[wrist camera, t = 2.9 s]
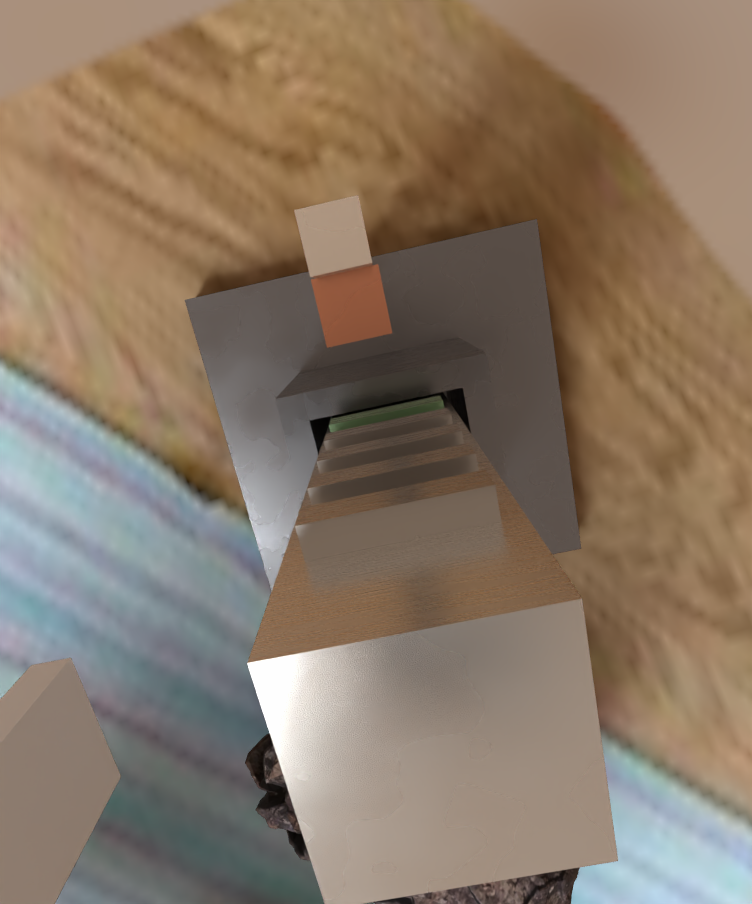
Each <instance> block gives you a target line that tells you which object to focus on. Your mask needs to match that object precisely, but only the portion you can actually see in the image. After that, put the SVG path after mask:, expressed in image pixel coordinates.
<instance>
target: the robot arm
mask: <svg viewBox="0 0 752 904" xmlns="http://www.w3.org/2000/svg"><path fill="white" fill-rule="evenodd" d="M120 778H121V775H120V773H119V770H118V768H117V766H116V763H115V761H114V759H113V756H112V754H111V752H110V749H109V747H108V744H107V742H106V740H105V737H104V735H103V733H102V730H101V728H100V726H99V723H98V721H97V718H96V716H95V714H94V711H93V709H92V707H91V704H90V702H89V700H88V697H87V695H86V692H85V690H84V688H83V685H82V683H81V681H80V678H79V676H78V674H77V671H76V669H75V666H74V664H73V662H72V659H71V658H67V659H62V660H57V661H51V662H46V663H41V664H36V665H31V666H30V667H29V669H28V670H27V671H26V672H25V673H24V674H23V675H22V676H21V677H20V678H19V680H18V681H17V682H16V683H15V684H14V685H13V686H12V687H11V688H10V689H9V691H8V692H7V693H6V694H5V695H4V696H3V697H2V698H1V699H0V904H55V902H56V900H57V898H58V896H59V894H60V892H61V891H62V889H63V887H64V885H65V883H66V881H67V879H68V877H69V875H70V873H71V871H72V869H73V868H74V866H75V864H76V862H77V860H78V858H79V856H80V854H81V852H82V850H83V848H84V846H85V845H86V843H87V841H88V839H89V837H90V835H91V833H92V831H93V829H94V827H95V825H96V824H97V822H98V820H99V818H100V816H101V814H102V812H103V810H104V808H105V806H106V804H107V802H108V801H109V799H110V797H111V795H112V793H113V791H114V789H115V787H116V785H117V783H118V781H119V780H120Z"/></svg>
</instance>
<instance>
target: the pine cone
mask: <svg viewBox="0 0 752 904" xmlns="http://www.w3.org/2000/svg"><path fill="white" fill-rule="evenodd" d="M245 763H246V765H247V767H248V769H249V770H250V772H251V776H252V778H253V779H254V781H255V783H256V784H257V786H258V788H260V789H262V790H264V791H267V793H266V794H265V796H264V797H263V798H262V799H261V800H260V802H259V804H258V806H257V808H256V811H257V812H258V814H259V815H261V816H262V817H263V818H265V819H266V822H267V824H268V826H269V827H270V828H273V829H278V828H281V829H286V830H287V833H288V838H289V843H290V844H291V845H292V847H293V848H294V850H295V852H296V854H297V855H298V856H299V858H300V859H303V860H309V861H311V860H310V857H309V854H308V851H307V847H306V844H305V841H304V838H303V835H302V832H301V829H300V826H299V823H298V819H297V816H296V813H295V810H294V807H293V804H292V801H291V798H290V795H289V792H288V788H287V785H286V782H285V779H284V776H283V773H282V770H281V767H280V764H279V760H278V757H277V754H276V751H275V748H274V745H273V742H272V739H271V736H270V733H268V734H267V735H266V736H264V737H263V738H262V739H261V740H260V741H259V742H258V744H257V745H256V746H255V747H254V748H253V749H252V750H251V751H250V752H249V753H248V755H247V758H246V762H245ZM579 868H580V867H579ZM579 868H573V869H567V870H561V871H555V872H549V873H543V874H537V875H531V876H525V877H519V878H513V879H507V880H501V881H495V882H489V883H483V884H477V885H471V886H465V887H459V888H453V889H447V890H441V891H435V892H429V893H423V894H417V895H411V896H405V897H399V898H393V899H387V900H381V901H375V902H374V903H375V904H571V895H572V890H573V885H574V882H575V880H576V878H577V875H578V871H579Z"/></svg>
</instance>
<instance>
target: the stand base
mask: <svg viewBox="0 0 752 904" xmlns="http://www.w3.org/2000/svg"><path fill="white" fill-rule="evenodd" d="M294 211H295V215H296V220H297V224H298V228H299V232H300V236H301V241H302V245H303V249H304V253H305V257H306V262H307V266H308V270H309V272H305V273H300V274H296V275H292V276H287V277H283V278H279V279H274V280H270V281H265V282H261V283H257V284H252V285H248V286H244V287H239V288H235V289H231V290H226V291H222V292H218V293H213V294H209V295H205V296H200V297H196V298H192V299H187V300H185V302H186V306H187V309H188V313H189V316H190V319H191V323H192V326H193V329H194V333H195V336H196V339H197V343H198V346H199V350H200V353H201V356H202V360H203V363H204V366H205V370H206V373H207V376H208V380H209V383H210V387H211V390H212V393H213V397H214V400H215V403H216V407H217V410H218V413H219V417H220V420H221V424H222V427H223V430H224V434H225V437H226V440H227V444H228V447H229V450H230V454H231V457H232V461H233V464H234V467H235V471H236V474H237V477H238V481H239V484H240V487H241V491H242V494H243V498H244V501H245V504H246V508H247V511H248V514H249V518H250V521H251V524H252V528H253V531H254V535H255V538H256V541H257V545H258V548H259V551H260V555H261V558H262V561H263V565H264V568H265V572H266V575H267V578H268V582H269V585H270V588H271V592H272V589H273V586H274V584H275V581H276V578H277V575H278V572H279V569H280V566H281V563H282V560H283V557H284V554H285V551H286V548H287V545H288V543H289V540H290V537H291V534H292V531H293V528H294V525H295V522H296V519H297V516H298V513H299V510H300V507H301V504H302V501H303V499H304V496H305V493H306V490H307V487H308V484H309V481H310V478H311V475H312V472H313V469H314V466H315V463H316V460H317V457H318V455H319V452H320V449H321V446H322V443H323V440H324V437H325V434H326V431H327V428H328V425H329V422H330V419H331V416H333V415H338V414H342V413H347V412H351V411H356V410H361V409H365V408H370V407H375V406H379V405H384V404H389V403H393V402H398V401H402V400H407V399H412V398H416V397H421V396H426V395H430V394H435V393H440V392H443V393H444V394H445V396H446V397H447V399H448V400H449V402H450V403H451V405H452V406H453V408H454V409H455V411H456V412H457V414H458V415H459V417H460V418H461V420H462V421H463V423H464V424H465V426H466V427H467V429H468V430H469V431H470V433H471V434H472V436H473V437H474V439H475V440H476V442H477V443H478V445H479V446H480V448H481V449H482V451H483V452H484V454H485V455H486V457H487V458H488V460H489V461H490V463H491V464H492V466H493V467H494V469H495V470H496V472H497V473H498V475H499V476H500V478H501V479H502V481H503V482H504V483H505V485H506V486H507V488H508V489H509V491H510V492H511V494H512V495H513V497H514V498H515V500H516V501H517V503H518V504H519V506H520V507H521V509H522V510H523V512H524V513H525V515H526V516H527V518H528V519H529V521H530V522H531V524H532V525H533V527H534V528H535V530H536V531H537V532H538V534H539V535H540V537H541V538H542V540H543V541H544V543H545V544H546V546H547V547H548V549H549V550H550V552H551V553H552V554H556V553H561V552H566V551H571V550H576V549H581V544H580V536H579V529H578V521H577V514H576V506H575V499H574V492H573V484H572V477H571V469H570V462H569V454H568V447H567V439H566V432H565V424H564V417H563V409H562V402H561V395H560V387H559V380H558V372H557V365H556V357H555V350H554V342H553V335H552V327H551V320H550V312H549V305H548V298H547V290H546V283H545V275H544V268H543V260H542V253H541V245H540V238H539V230H538V223H537V219H535V220H531V221H526V222H522V223H518V224H513V225H509V226H504V227H500V228H496V229H491V230H487V231H483V232H478V233H474V234H470V235H465V236H461V237H457V238H452V239H448V240H444V241H439V242H435V243H431V244H426V245H422V246H418V247H413V248H409V249H405V250H400V251H396V252H391V253H387V254H383V255H378V256H374V257H371V254H370V249H369V245H368V240H367V235H366V230H365V226H364V221H363V216H362V211H361V206H360V202H359V197H358V195H356V196H352V197H348V198H344V199H339V200H335V201H331V202H327V203H323V204H318V205H314V206H310V207H306V208H301V209H297V210H294Z"/></svg>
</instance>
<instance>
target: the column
mask: <svg viewBox="0 0 752 904" xmlns="http://www.w3.org/2000/svg"><path fill="white" fill-rule="evenodd" d="M247 664H248V667H249V670H250V673H251V677H252V680H253V683H254V686H255V689H256V692H257V695H258V698H259V701H260V704H261V708H262V711H263V714H264V717H265V720H266V723H267V726H268V729H269V732H270V736H271V739H272V742H273V745H274V748H275V751H276V754H277V757H278V760H279V764H280V767H281V770H282V773H283V776H284V779H285V782H286V785H287V788H288V792H289V795H290V798H291V801H292V804H293V807H294V810H295V813H296V816H297V819H298V823H299V826H300V829H301V832H302V835H303V838H304V841H305V844H306V847H307V851H308V854H309V857H310V860H311V863H312V866H313V869H314V872H315V875H316V879H317V882H318V885H319V888H320V891H321V894H322V897H323V900H324V903H325V904H364V903H369V902H375V901H381V900H387V899H393V898H399V897H405V896H411V895H417V894H423V893H429V892H435V891H441V890H447V889H453V888H459V887H465V886H471V885H477V884H483V883H489V882H495V881H501V880H507V879H513V878H519V877H525V876H531V875H537V874H543V873H549V872H555V871H561V870H567V869H573V868H579V867H585V866H591V865H597V864H602V863H608V862H614V861H618V857H617V850H616V842H615V835H614V828H613V820H612V813H611V806H610V799H609V791H608V784H607V777H606V769H605V762H604V755H603V748H602V740H601V733H600V726H599V718H598V711H597V704H596V696H595V689H594V682H593V675H592V667H591V660H590V653H589V645H588V638H587V631H586V623H585V616H584V609H583V602H582V598H581V596H580V595H579V593H578V592H577V590H576V589H575V587H574V586H573V584H572V583H571V582H570V580H569V579H568V577H567V576H566V574H565V573H564V571H563V570H562V568H561V567H560V565H559V564H558V562H557V561H556V559H555V558H554V556H553V555H552V553H551V552H550V550H549V549H548V547H547V546H546V544H545V543H544V541H543V540H542V538H541V537H540V535H539V534H538V532H537V531H536V530H535V528H534V527H533V525H532V524H531V522H530V521H529V519H528V518H527V516H526V515H525V513H524V512H523V510H522V509H521V507H520V506H519V504H518V503H517V501H516V500H515V498H514V497H513V495H512V494H511V492H510V491H509V489H508V488H507V486H506V485H505V483H504V482H503V481H502V479H501V478H500V476H499V475H498V473H497V472H496V470H495V469H494V467H493V466H492V464H491V463H490V461H489V460H488V458H487V457H486V455H485V454H484V452H483V451H482V449H481V448H480V446H479V445H478V443H477V442H476V440H475V439H474V437H473V436H472V434H471V433H470V431H469V430H468V429H467V427H466V426H465V424H464V423H463V421H462V420H461V418H460V417H459V415H458V414H457V412H456V411H455V409H454V408H453V406H452V405H451V403H450V402H449V400H448V399H447V397H446V396H445V394H444V393H443V392H440V393H435V394H430V395H426V396H421V397H416V398H412V399H407V400H402V401H398V402H393V403H389V404H384V405H379V406H375V407H370V408H365V409H361V410H356V411H351V412H347V413H342V414H338V415H333V416H331V419H330V422H329V425H328V428H327V431H326V434H325V437H324V440H323V443H322V446H321V449H320V452H319V455H318V457H317V460H316V463H315V466H314V469H313V472H312V475H311V478H310V481H309V484H308V487H307V490H306V493H305V496H304V499H303V501H302V504H301V507H300V510H299V513H298V516H297V519H296V522H295V525H294V528H293V531H292V534H291V537H290V540H289V543H288V545H287V548H286V551H285V554H284V557H283V560H282V563H281V566H280V569H279V572H278V575H277V578H276V581H275V584H274V586H273V589H272V592H271V595H270V598H269V601H268V604H267V607H266V610H265V613H264V616H263V619H262V622H261V625H260V628H259V630H258V633H257V636H256V639H255V642H254V645H253V648H252V651H251V654H250V657H249V660H248V663H247Z"/></svg>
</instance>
